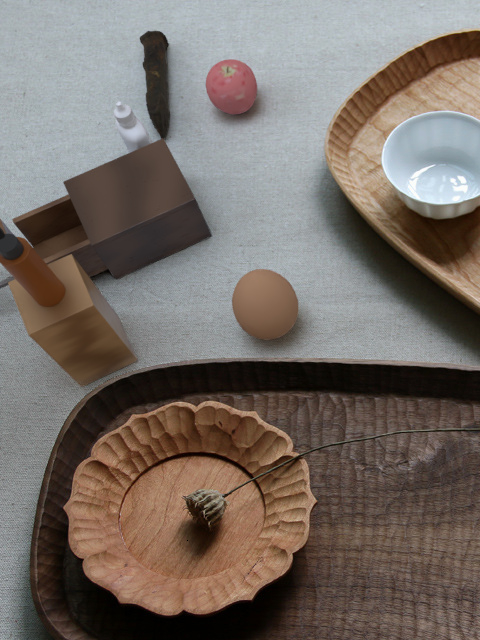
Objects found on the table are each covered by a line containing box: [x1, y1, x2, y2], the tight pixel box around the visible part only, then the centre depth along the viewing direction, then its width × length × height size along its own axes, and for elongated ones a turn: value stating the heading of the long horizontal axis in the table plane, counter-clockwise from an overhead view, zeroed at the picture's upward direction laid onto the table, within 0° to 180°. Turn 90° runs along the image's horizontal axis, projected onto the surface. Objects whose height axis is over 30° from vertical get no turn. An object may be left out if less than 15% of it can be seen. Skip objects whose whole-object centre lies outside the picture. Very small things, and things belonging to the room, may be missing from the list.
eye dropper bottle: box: [113, 101, 153, 153], centre depth 115 cm, size 4×6×12 cm
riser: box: [8, 254, 139, 388], centre depth 101 cm, size 8×8×15 cm
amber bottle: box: [0, 233, 65, 307], centre depth 90 cm, size 4×4×10 cm
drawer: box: [0, 193, 109, 290], centre depth 110 cm, size 18×10×7 cm, turn 118°
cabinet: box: [63, 138, 213, 281], centre depth 112 cm, size 15×12×9 cm
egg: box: [231, 268, 300, 341], centre depth 103 cm, size 8×8×11 cm
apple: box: [205, 58, 258, 115], centre depth 120 cm, size 7×7×8 cm
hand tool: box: [139, 30, 171, 140], centre depth 123 cm, size 19×4×5 cm, turn 7°
